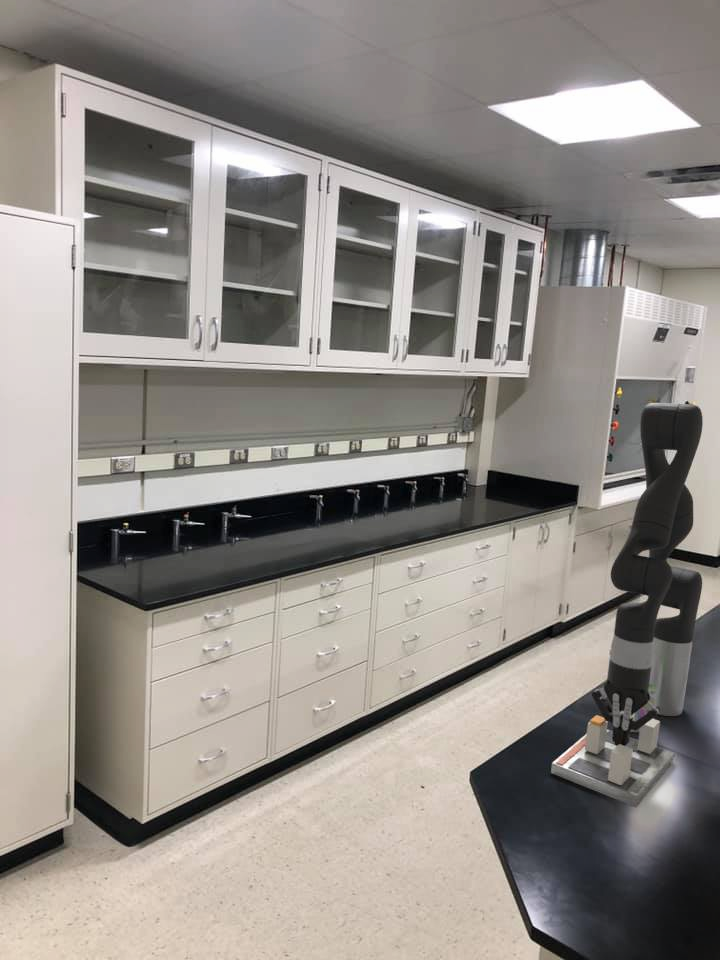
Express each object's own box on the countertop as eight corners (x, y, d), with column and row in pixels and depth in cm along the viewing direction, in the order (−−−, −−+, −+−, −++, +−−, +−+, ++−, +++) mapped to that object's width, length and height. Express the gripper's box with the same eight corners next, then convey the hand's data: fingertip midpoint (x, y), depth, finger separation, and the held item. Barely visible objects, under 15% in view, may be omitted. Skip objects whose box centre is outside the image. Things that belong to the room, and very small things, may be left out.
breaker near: (615, 772, 142) (619, 744, 141) (629, 777, 140) (632, 748, 139) (607, 780, 138) (611, 751, 138) (621, 785, 137) (625, 756, 136)
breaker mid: (592, 742, 152) (596, 713, 152) (604, 747, 151) (608, 718, 150) (584, 749, 149) (588, 720, 148) (597, 754, 148) (600, 724, 147)
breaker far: (643, 742, 154) (647, 717, 153) (656, 747, 153) (660, 721, 152) (637, 749, 151) (640, 723, 150) (650, 754, 149) (653, 727, 149)
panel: (595, 734, 161) (596, 724, 161) (673, 762, 152) (674, 752, 151) (550, 772, 144) (552, 762, 144) (636, 807, 134) (637, 795, 134)
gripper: (672, 664, 143) (661, 750, 146) (603, 644, 151) (593, 727, 154) (660, 675, 138) (648, 765, 140) (589, 654, 146) (579, 740, 148)
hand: (619, 745), depth 147 cm, fingers closed
